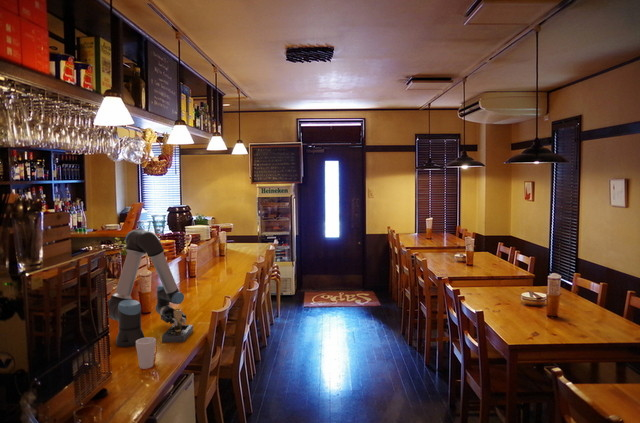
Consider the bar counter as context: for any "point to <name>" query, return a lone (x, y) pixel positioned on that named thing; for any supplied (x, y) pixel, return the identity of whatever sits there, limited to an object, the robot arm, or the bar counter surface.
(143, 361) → the foam cup
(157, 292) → the robot arm
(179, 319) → the brass post
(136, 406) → the bar counter surface
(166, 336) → the keyhole plate
